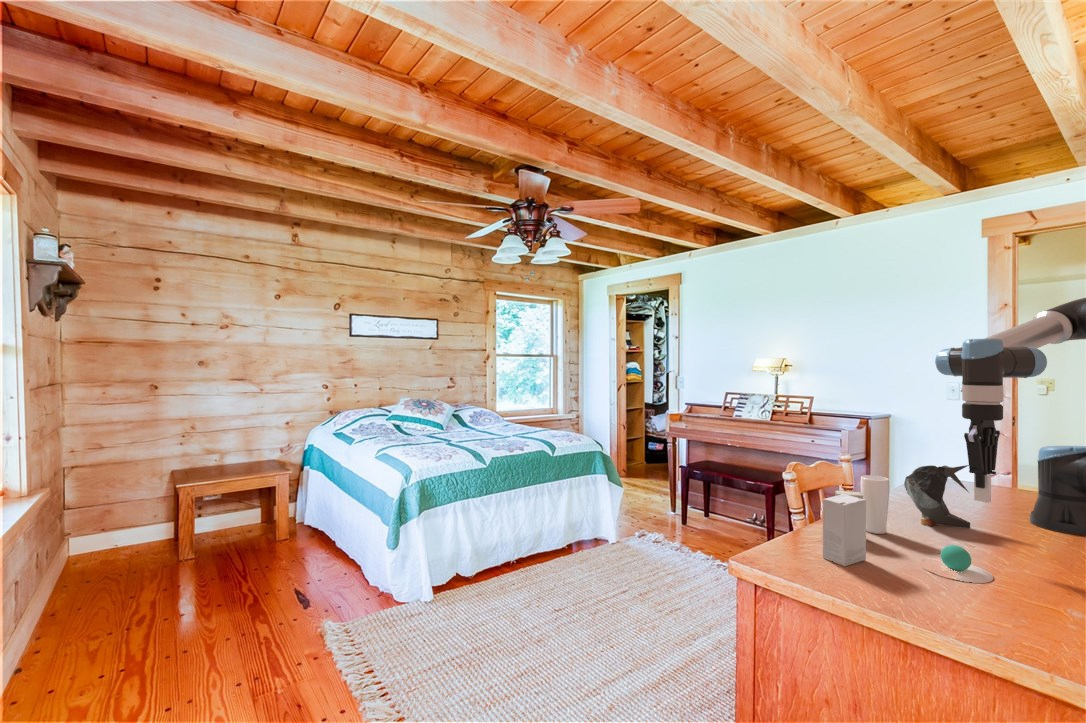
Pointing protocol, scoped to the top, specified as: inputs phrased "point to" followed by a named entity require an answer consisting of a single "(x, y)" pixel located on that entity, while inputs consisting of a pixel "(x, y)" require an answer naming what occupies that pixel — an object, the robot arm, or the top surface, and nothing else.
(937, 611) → the top surface
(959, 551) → the ball
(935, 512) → the bird figurine
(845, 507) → the skincare box
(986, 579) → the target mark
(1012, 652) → the top surface
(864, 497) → the drinking glass
